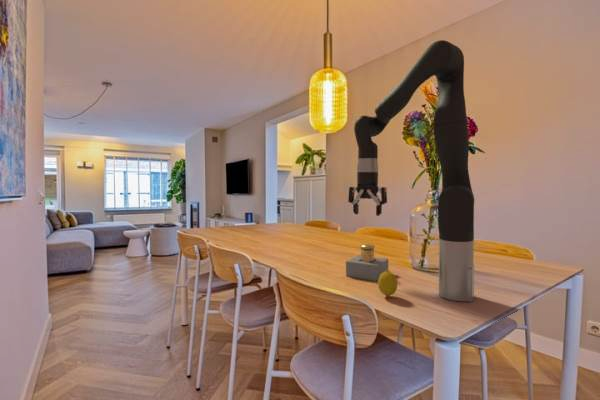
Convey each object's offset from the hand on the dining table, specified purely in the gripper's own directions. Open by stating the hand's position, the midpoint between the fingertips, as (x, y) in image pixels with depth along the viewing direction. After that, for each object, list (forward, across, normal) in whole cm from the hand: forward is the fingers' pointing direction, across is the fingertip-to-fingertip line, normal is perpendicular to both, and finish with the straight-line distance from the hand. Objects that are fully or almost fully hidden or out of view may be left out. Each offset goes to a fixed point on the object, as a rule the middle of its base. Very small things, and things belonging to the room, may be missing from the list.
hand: (367, 214), depth 116 cm
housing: (+23, 0, 0) cm, 23 cm away
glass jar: (+23, 0, 0) cm, 23 cm away
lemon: (+22, -14, +19) cm, 33 cm away
